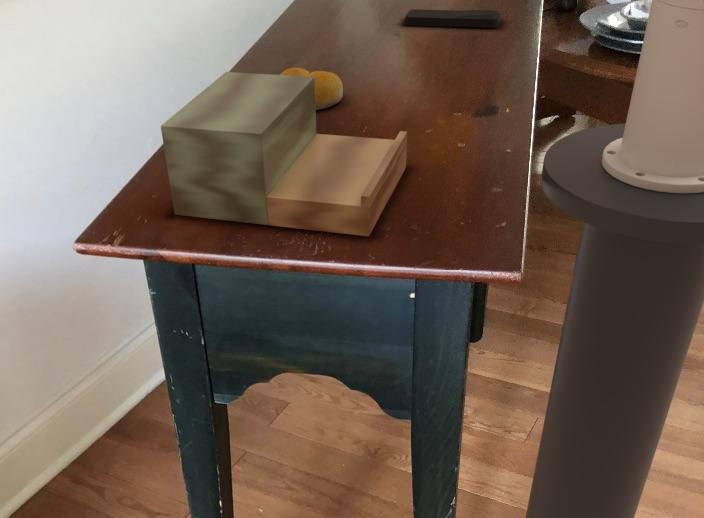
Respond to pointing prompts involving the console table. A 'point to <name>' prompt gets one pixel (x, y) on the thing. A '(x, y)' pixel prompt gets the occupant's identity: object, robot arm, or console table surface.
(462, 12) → the remote control
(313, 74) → the bread roll
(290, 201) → the green block on base
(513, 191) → the console table surface
